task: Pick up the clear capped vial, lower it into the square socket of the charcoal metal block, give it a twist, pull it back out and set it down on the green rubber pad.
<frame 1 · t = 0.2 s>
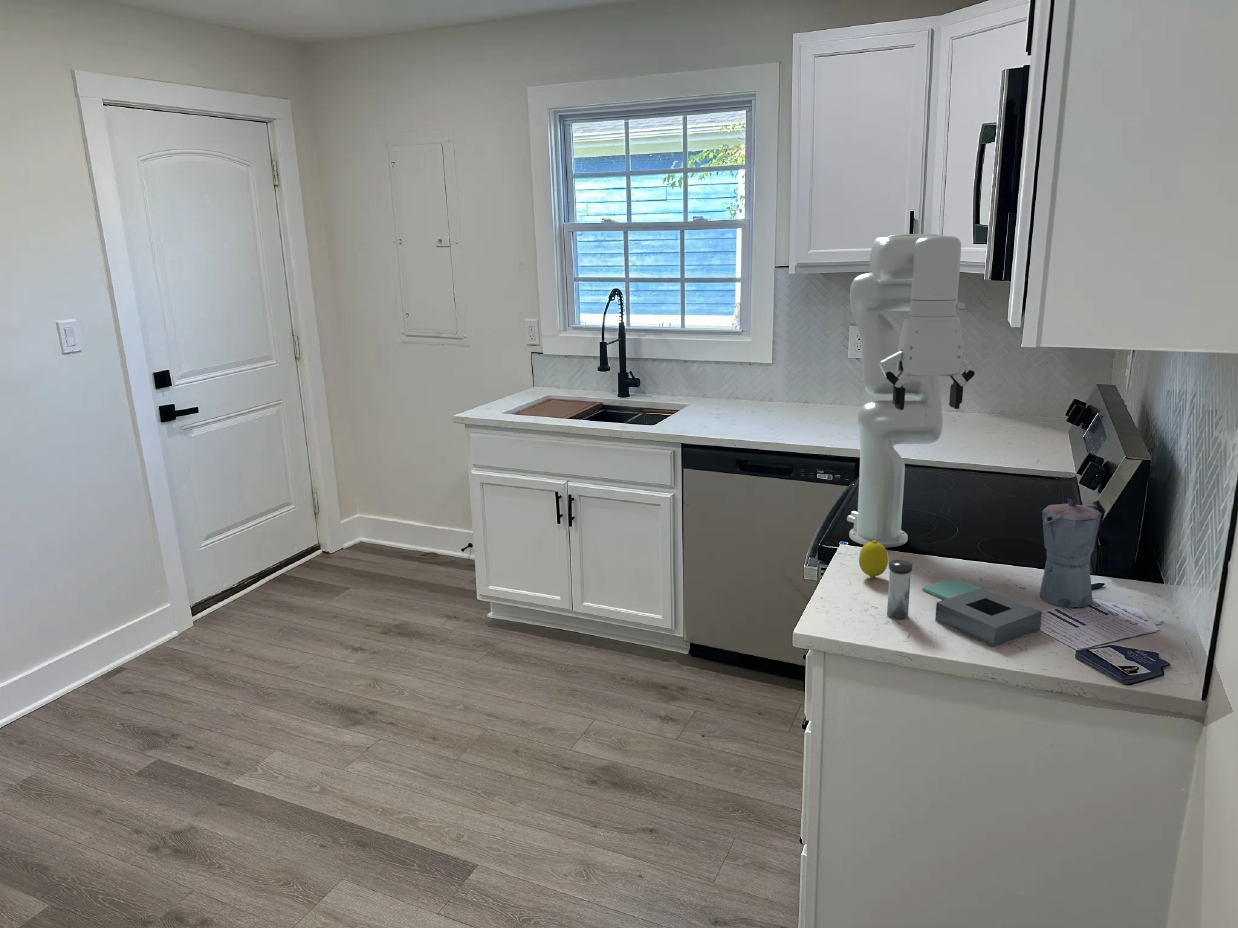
hand: (926, 408, 149), 37 cm above the counter, tool pointing down, fingers open, 9 cm apart
clear capped vial: (897, 615, 152), on the counter
socket block: (986, 625, 147), on the counter
pad: (957, 593, 161), on the counter
lemon: (872, 579, 169), on the counter
moka pot: (1065, 599, 158), on the counter
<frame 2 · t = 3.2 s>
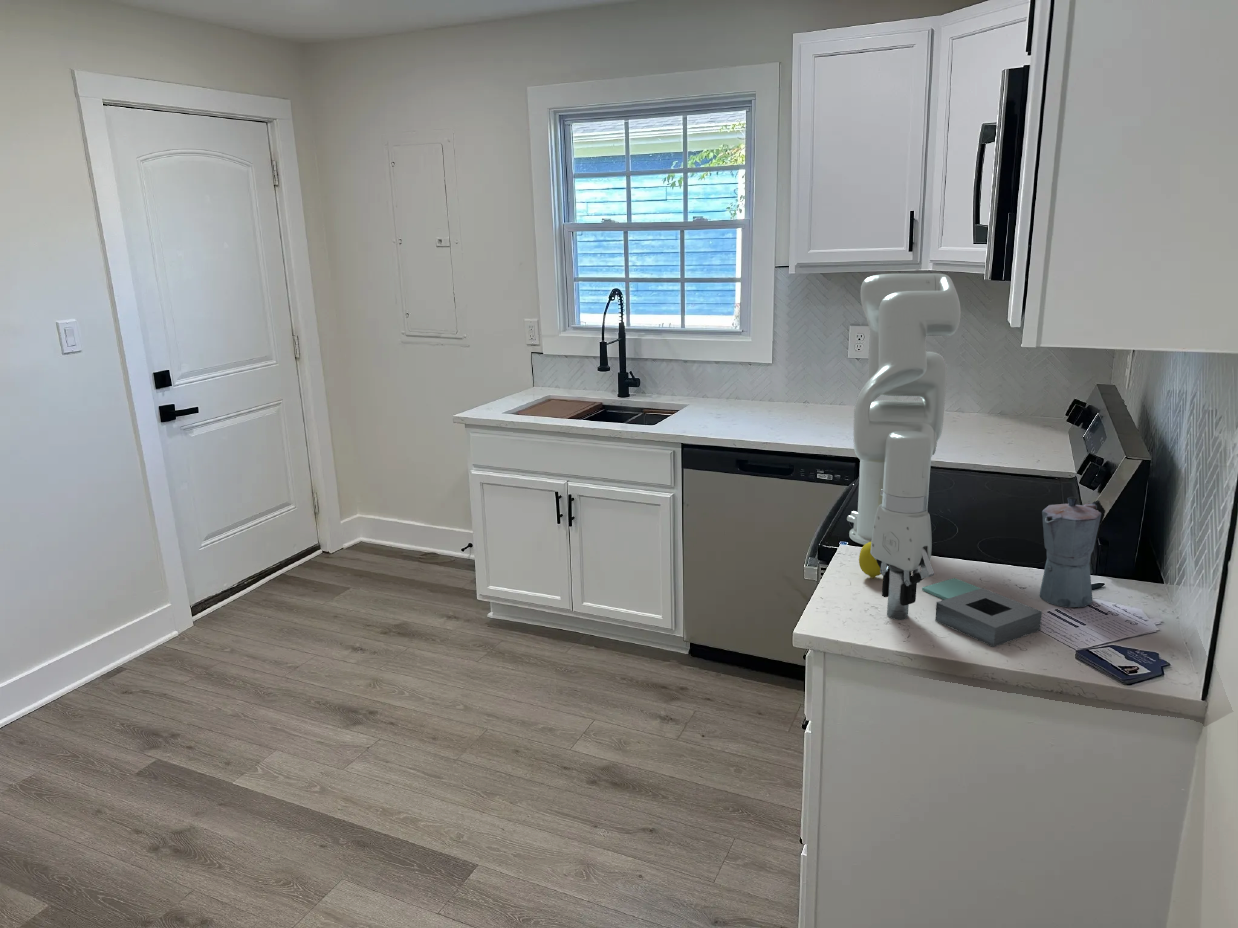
hand: (898, 598, 151), 3 cm above the counter, tool pointing down, fingers closed on clear capped vial, 3 cm apart
clear capped vial: (897, 615, 152), on the counter, touching gripper
everything else where it was.
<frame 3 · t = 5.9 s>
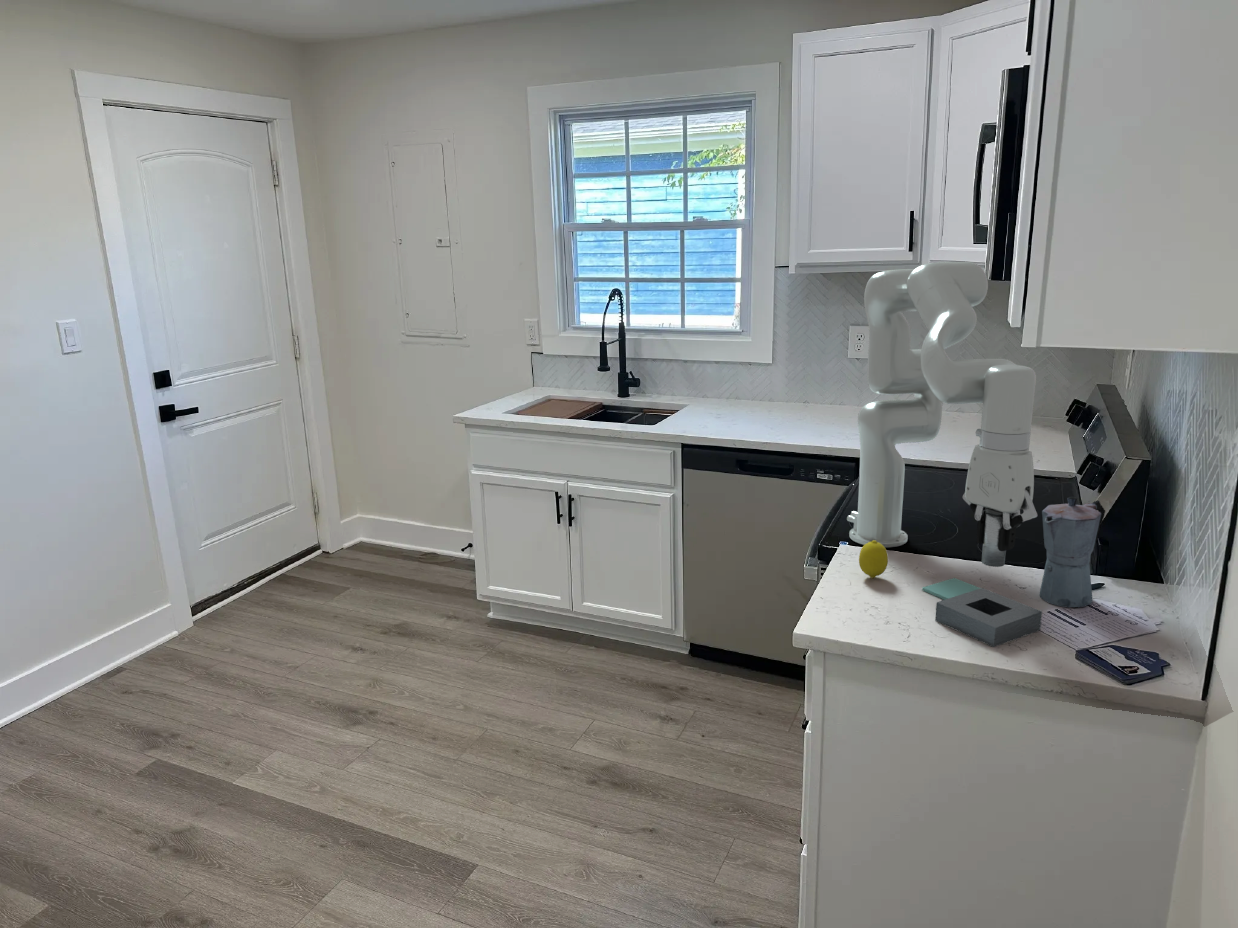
hand: (994, 544, 143), 15 cm above the counter, tool pointing down, fingers closed on clear capped vial, 3 cm apart
clear capped vial: (993, 562, 144), point 12 cm above the counter, touching gripper
everything else where it was.
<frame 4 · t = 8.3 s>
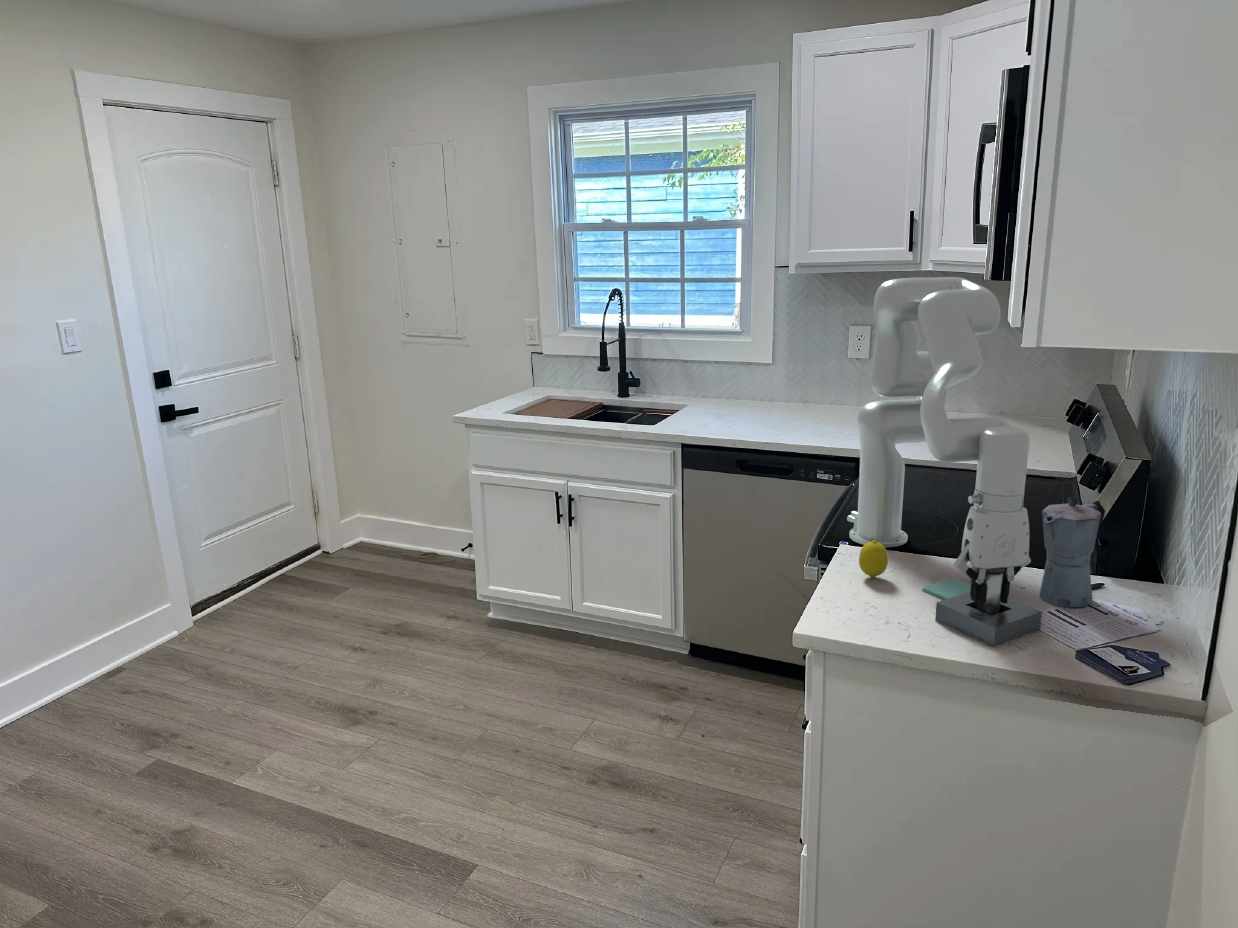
hand: (988, 600, 146), 5 cm above the counter, tool pointing down, fingers closed on clear capped vial, 3 cm apart
clear capped vial: (987, 617, 147), point 1 cm above the counter, touching gripper
everything else where it was.
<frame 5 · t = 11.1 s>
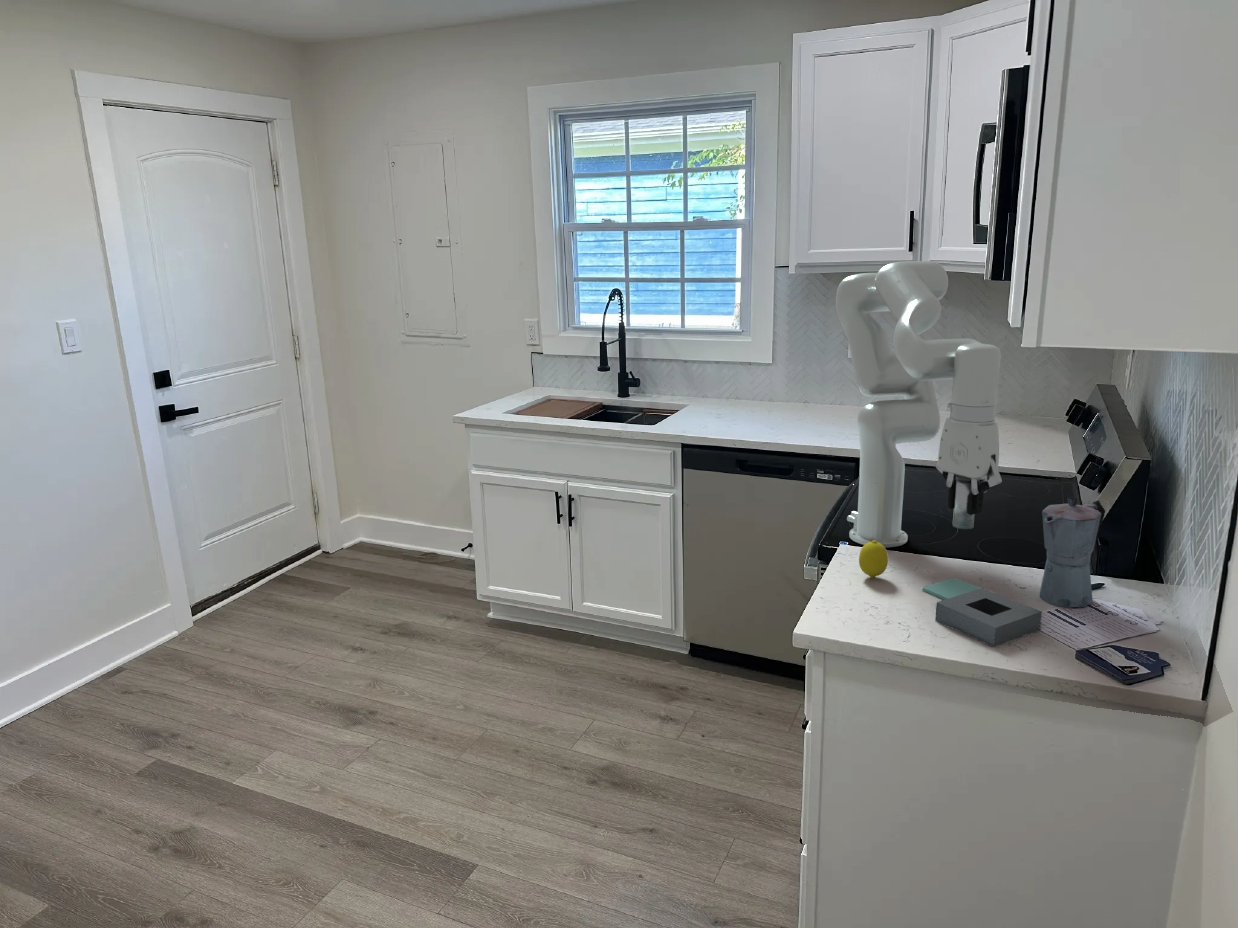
hand: (964, 509, 156), 17 cm above the counter, tool pointing down, fingers closed on clear capped vial, 3 cm apart
clear capped vial: (962, 525, 157), point 14 cm above the counter, touching gripper
everything else where it was.
when the fingers open (5 cm above the counter, at t = 13.5 s): clear capped vial stays where it is, resting on pad.
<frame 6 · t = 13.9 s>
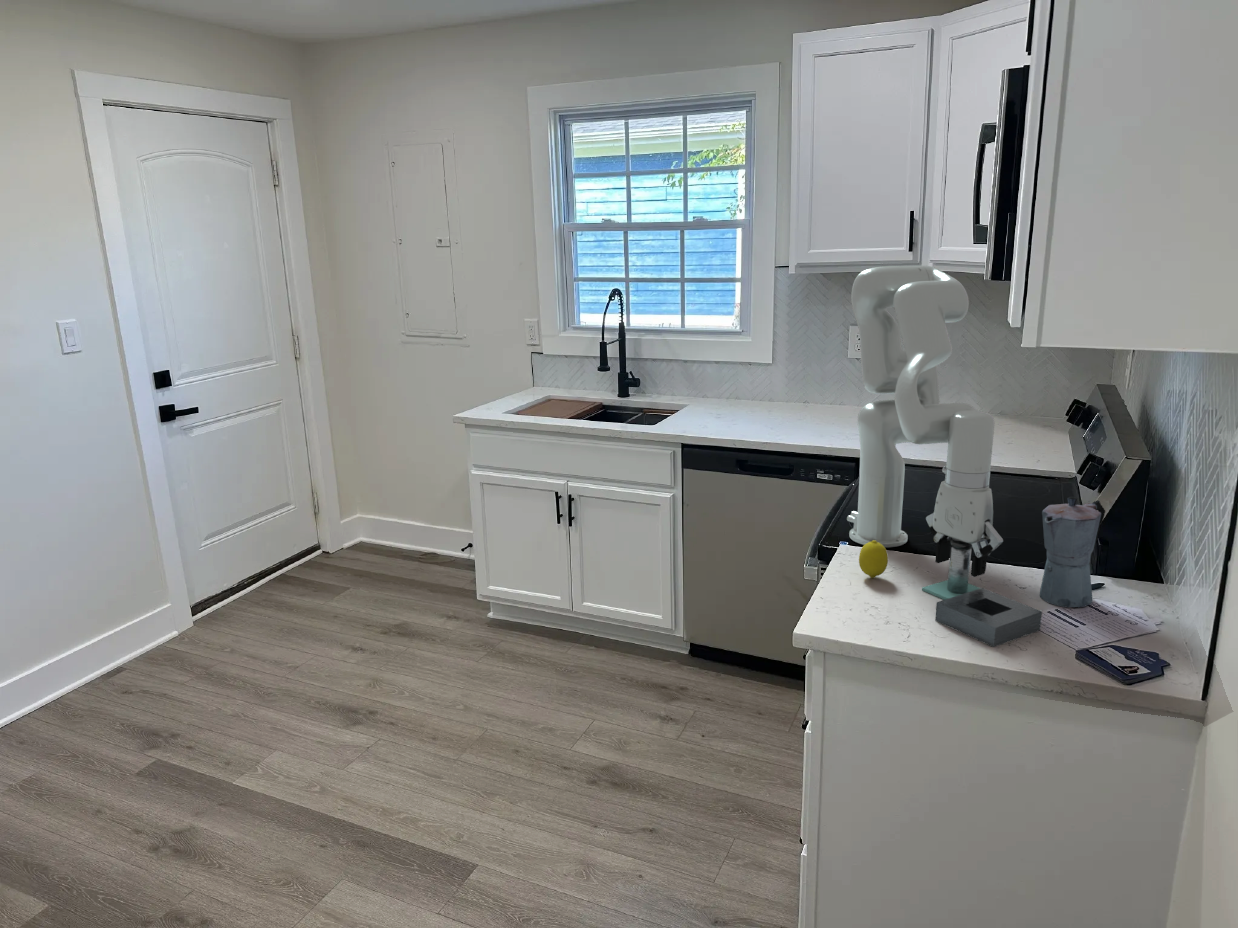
hand: (959, 567, 159), 5 cm above the counter, tool pointing down, fingers open, 7 cm apart
clear capped vial: (957, 590, 161), point 1 cm above the counter, touching pad
everything else where it was.
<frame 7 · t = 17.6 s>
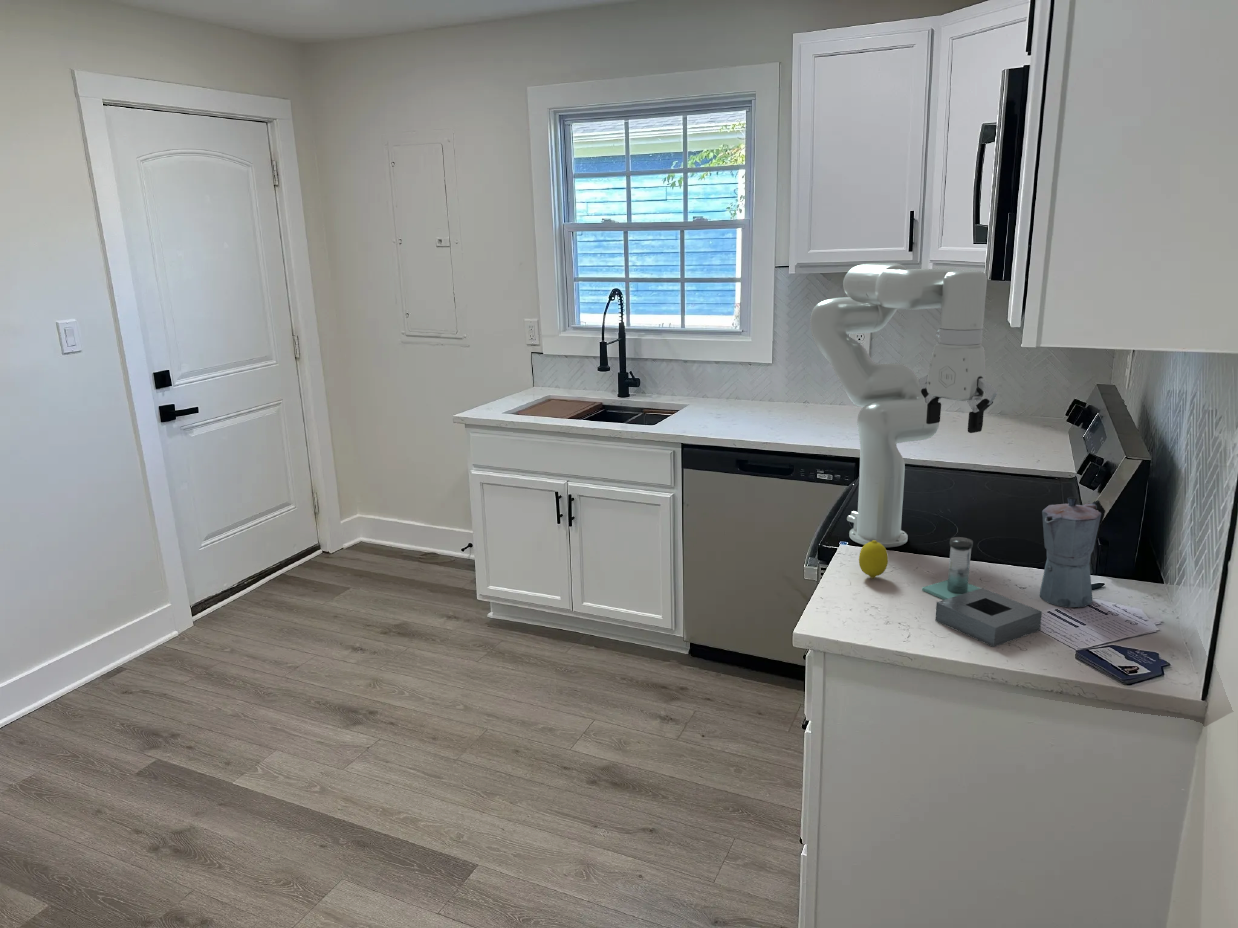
hand: (953, 427, 162), 30 cm above the counter, tool pointing down, fingers open, 9 cm apart
nothing on the counter moved.
at the end: clear capped vial inside the target area on the pad (0.1 cm from its centre), point 0.6 cm above the pad's base; the gripper is holding nothing; clear capped vial touching pad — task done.
